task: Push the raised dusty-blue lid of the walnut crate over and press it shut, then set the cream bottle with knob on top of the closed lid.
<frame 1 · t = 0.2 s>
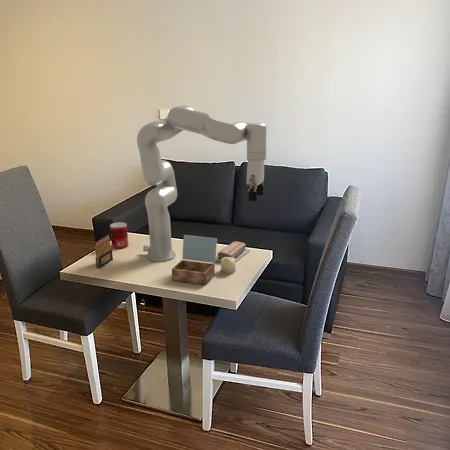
hand: (256, 197, 191), 31 cm above the table, tool pointing down, fingers open, 9 cm apart
crate: (193, 277, 192), on the table
lid: (198, 261, 196), point 5 cm above the table, hinge at 104.0°
ammunition clip: (104, 264, 208), on the table
cream bottle with knob: (228, 270, 199), on the table
canned food: (120, 246, 228), on the table
packaged product: (231, 257, 215), on the table
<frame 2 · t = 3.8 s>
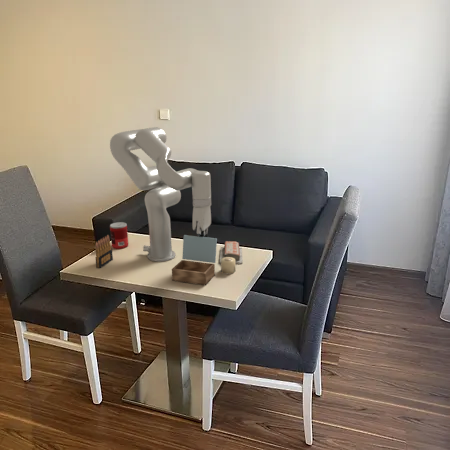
hand: (203, 244, 199), 11 cm above the table, tool pointing down, fingers closed
lid: (198, 261, 196), point 5 cm above the table, hinge at 103.5°, touching gripper
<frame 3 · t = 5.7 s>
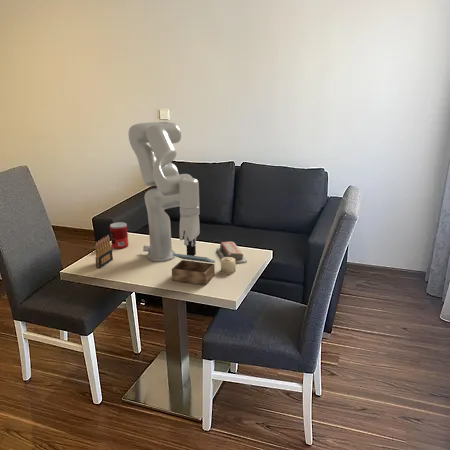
hand: (191, 254, 188), 11 cm above the table, tool pointing down, fingers closed
lid: (198, 261, 196), point 5 cm above the table, hinge at 29.7°, touching gripper
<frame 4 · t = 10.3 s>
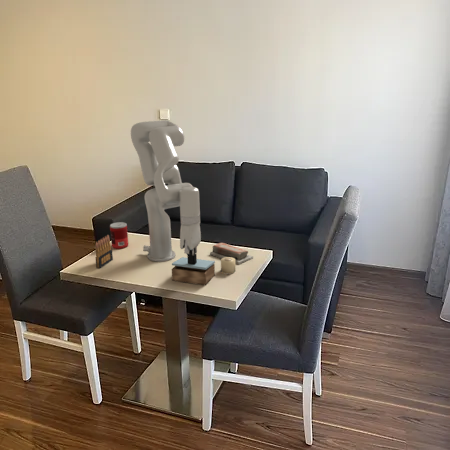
hand: (192, 263, 189), 7 cm above the table, tool pointing down, fingers closed
lid: (198, 261, 196), point 5 cm above the table, hinge at 6.9°
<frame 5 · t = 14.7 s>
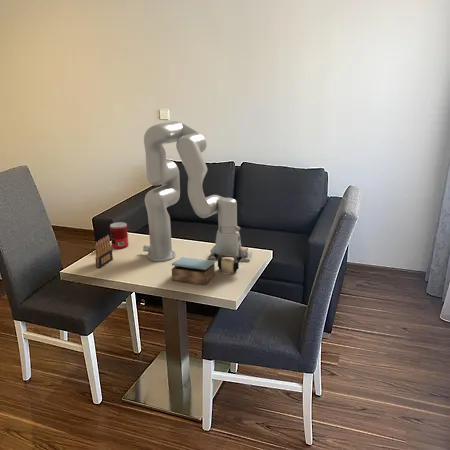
hand: (228, 269, 199), 1 cm above the table, tool pointing down, fingers closed on cream bottle with knob, 6 cm apart
cream bottle with knob: (228, 270, 199), on the table, touching gripper
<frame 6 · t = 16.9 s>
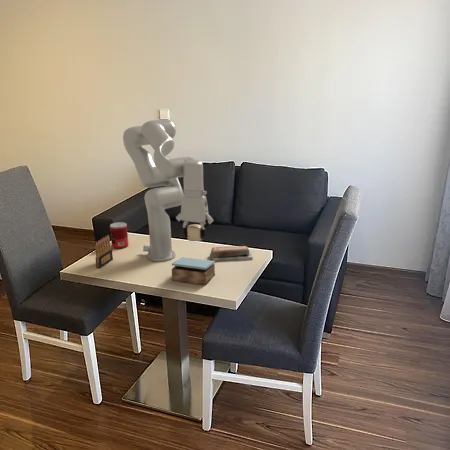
hand: (195, 236, 188), 17 cm above the table, tool pointing down, fingers closed on cream bottle with knob, 6 cm apart
cream bottle with knob: (195, 238, 188), point 16 cm above the table, touching gripper
when the fingers open (8 cm above the table, at t = 19.2 s): cream bottle with knob stays where it is, resting on lid.
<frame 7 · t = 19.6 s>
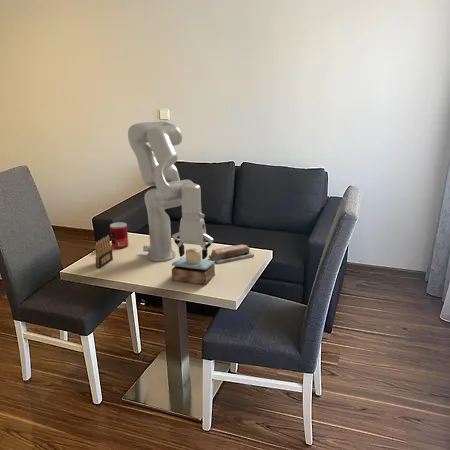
hand: (193, 256, 190), 9 cm above the table, tool pointing down, fingers open, 9 cm apart
lid: (198, 261, 196), point 5 cm above the table, hinge at 6.4°, touching cream bottle with knob
cream bottle with knob: (193, 262, 191), point 7 cm above the table, tilted 6°, touching lid
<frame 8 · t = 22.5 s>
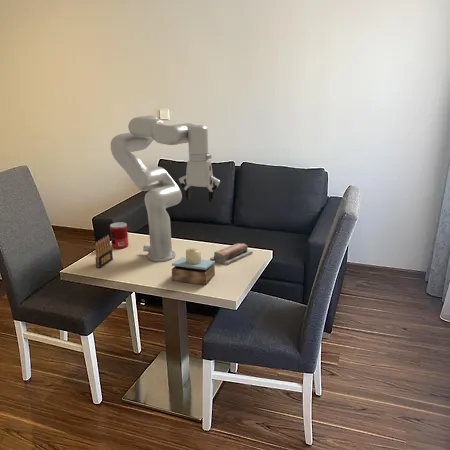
hand: (199, 199, 191), 30 cm above the table, tool pointing down, fingers open, 9 cm apart
at the end: lid at +6° (first picture: +104°); cream bottle with knob inside the target area on the crate (0.2 cm from its centre), point 6.7 cm above the crate's base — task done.
